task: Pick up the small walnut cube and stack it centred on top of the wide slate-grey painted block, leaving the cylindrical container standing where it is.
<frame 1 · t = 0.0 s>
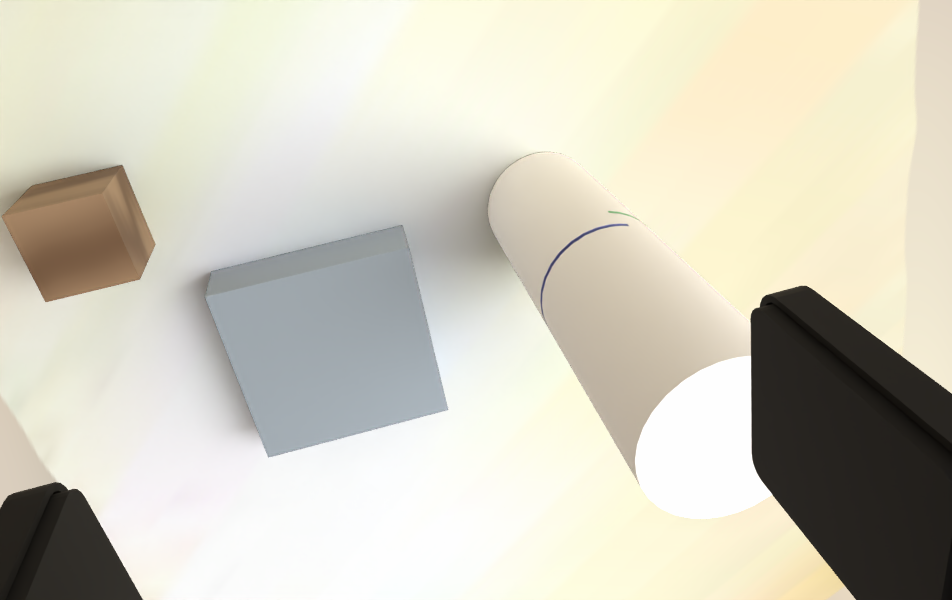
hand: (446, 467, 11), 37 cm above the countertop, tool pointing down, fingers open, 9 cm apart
walnut cube: (96, 215, 44), on the countertop
grey base block: (333, 326, 51), on the countertop
cylindrical container: (541, 205, 50), on the countertop
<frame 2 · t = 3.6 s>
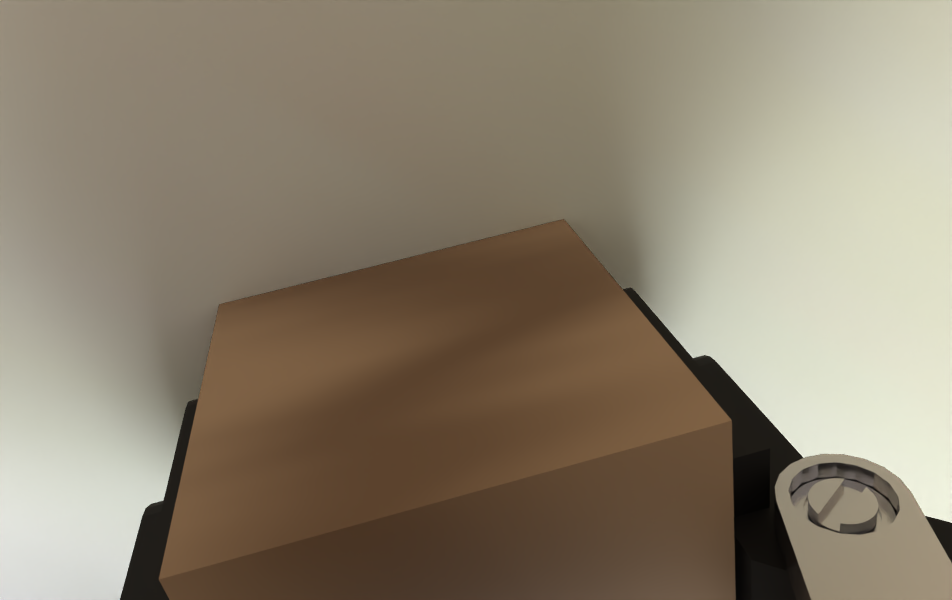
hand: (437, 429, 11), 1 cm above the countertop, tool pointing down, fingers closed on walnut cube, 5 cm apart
walnut cube: (430, 402, 12), on the countertop, touching gripper
when the fingers open (5 cm above the countertop, at t = 10.3 s): walnut cube stays where it is, resting on grey base block.
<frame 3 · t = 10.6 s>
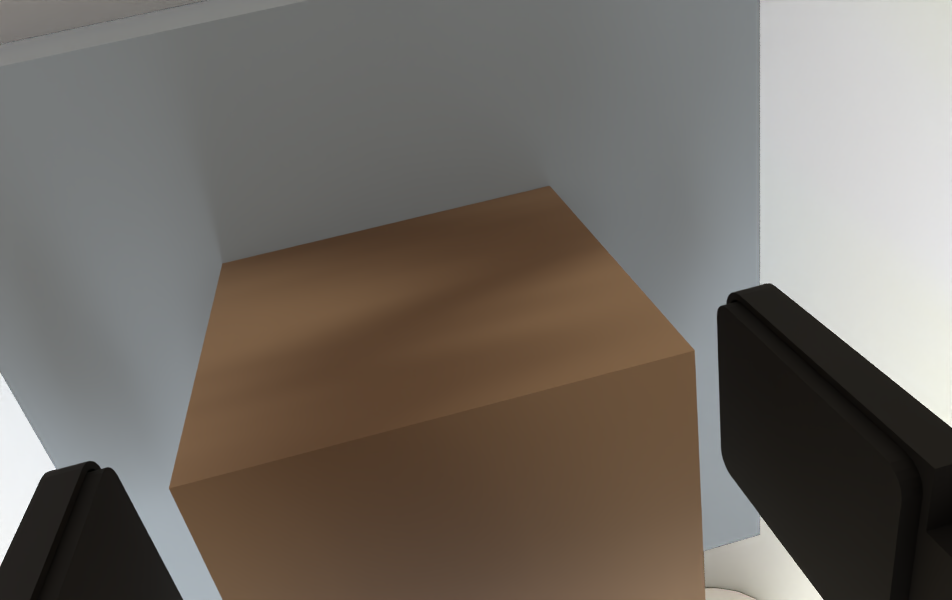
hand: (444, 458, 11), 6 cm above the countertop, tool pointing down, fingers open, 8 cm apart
walnut cube: (423, 361, 13), point 3 cm above the countertop, touching grey base block
grey base block: (397, 275, 16), on the countertop, touching walnut cube
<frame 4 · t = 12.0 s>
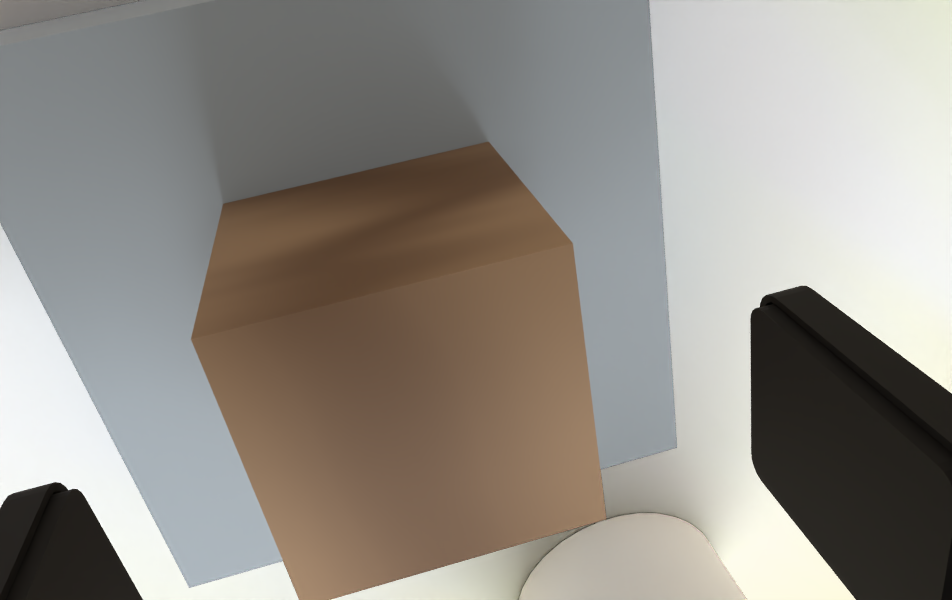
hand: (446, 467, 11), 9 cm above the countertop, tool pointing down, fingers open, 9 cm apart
walnut cube: (388, 289, 15), point 3 cm above the countertop
grey base block: (366, 226, 19), on the countertop
cylindrical container: (616, 590, 26), on the countertop
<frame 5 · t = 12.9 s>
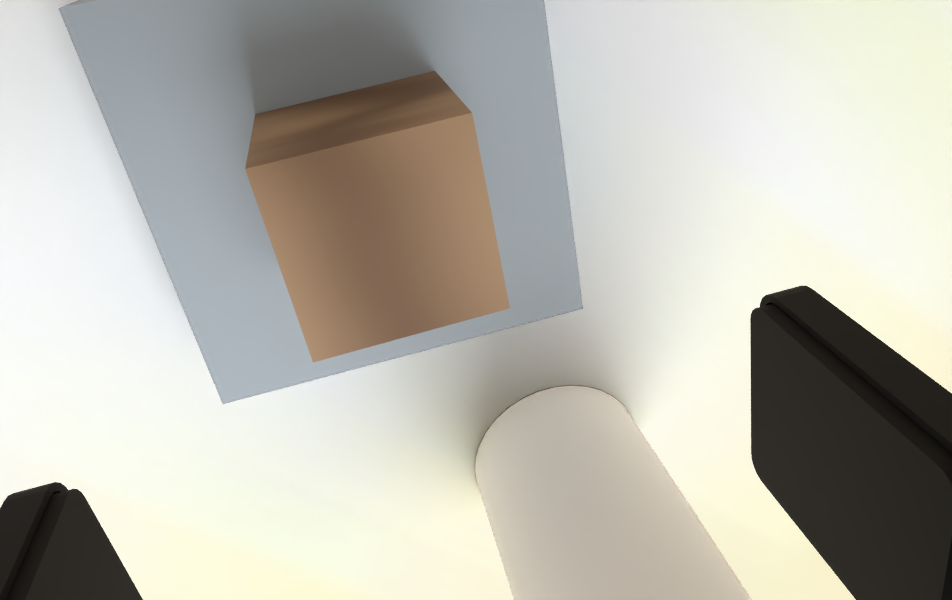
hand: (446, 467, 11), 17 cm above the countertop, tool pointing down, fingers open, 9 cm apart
walnut cube: (369, 178, 22), point 3 cm above the countertop, touching grey base block
grey base block: (352, 145, 26), on the countertop, touching walnut cube
cylindrical container: (555, 453, 33), on the countertop
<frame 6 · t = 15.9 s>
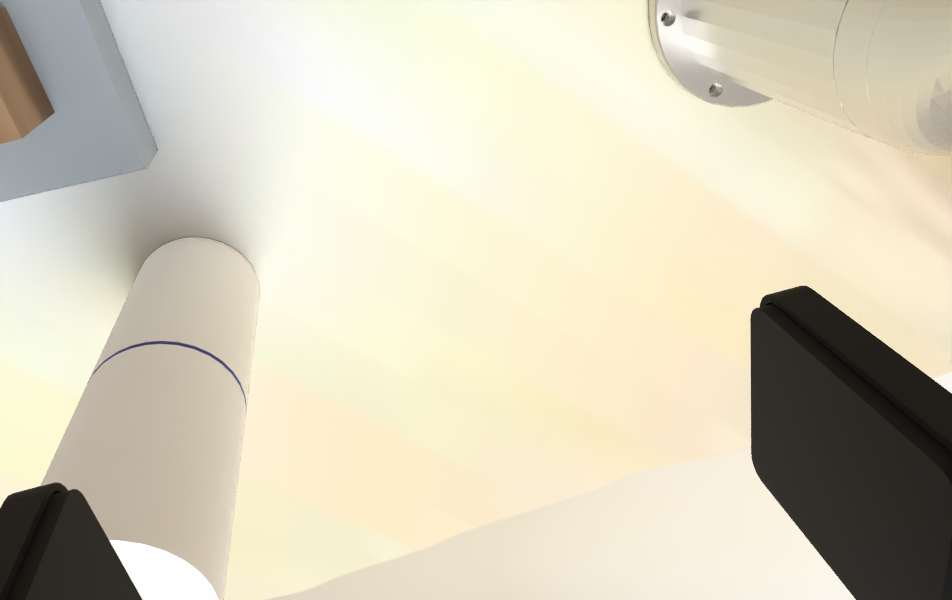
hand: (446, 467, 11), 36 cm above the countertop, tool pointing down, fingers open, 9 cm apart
grey base block: (0, 63, 40), on the countertop
cylindrical container: (199, 290, 47), on the countertop
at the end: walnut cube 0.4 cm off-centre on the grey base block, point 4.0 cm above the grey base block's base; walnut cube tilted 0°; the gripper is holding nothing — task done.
